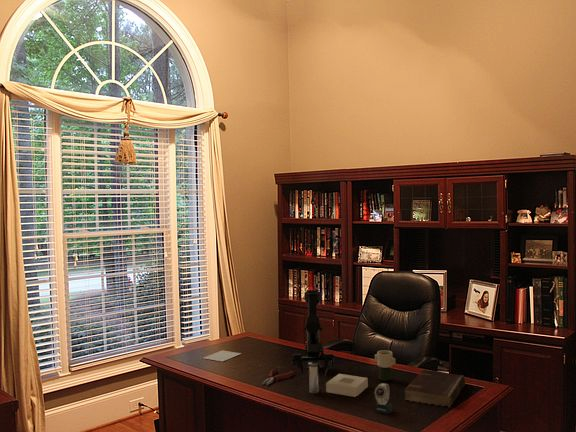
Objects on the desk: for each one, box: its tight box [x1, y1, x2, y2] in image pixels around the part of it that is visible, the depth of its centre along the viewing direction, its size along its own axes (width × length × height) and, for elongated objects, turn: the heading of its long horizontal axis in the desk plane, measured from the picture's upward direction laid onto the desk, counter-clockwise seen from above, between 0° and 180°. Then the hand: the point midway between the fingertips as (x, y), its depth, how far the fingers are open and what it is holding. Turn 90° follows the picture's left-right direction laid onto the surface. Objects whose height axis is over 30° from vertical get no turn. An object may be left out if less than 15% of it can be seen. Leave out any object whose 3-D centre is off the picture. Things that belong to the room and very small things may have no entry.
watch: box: [374, 382, 393, 415], centre depth 212 cm, size 6×8×11 cm
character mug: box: [374, 349, 396, 382], centre depth 249 cm, size 11×7×13 cm, turn 48°
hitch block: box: [325, 373, 369, 398], centre depth 238 cm, size 14×14×4 cm
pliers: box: [261, 368, 295, 386], centre depth 255 cm, size 12×20×3 cm, turn 152°
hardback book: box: [404, 369, 466, 408], centre depth 232 cm, size 29×19×5 cm, turn 151°
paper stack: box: [203, 349, 242, 362], centre depth 289 cm, size 23×25×1 cm
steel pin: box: [307, 361, 319, 394], centre depth 236 cm, size 5×5×13 cm
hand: (313, 377), depth 235 cm, fingers open, 9 cm apart
